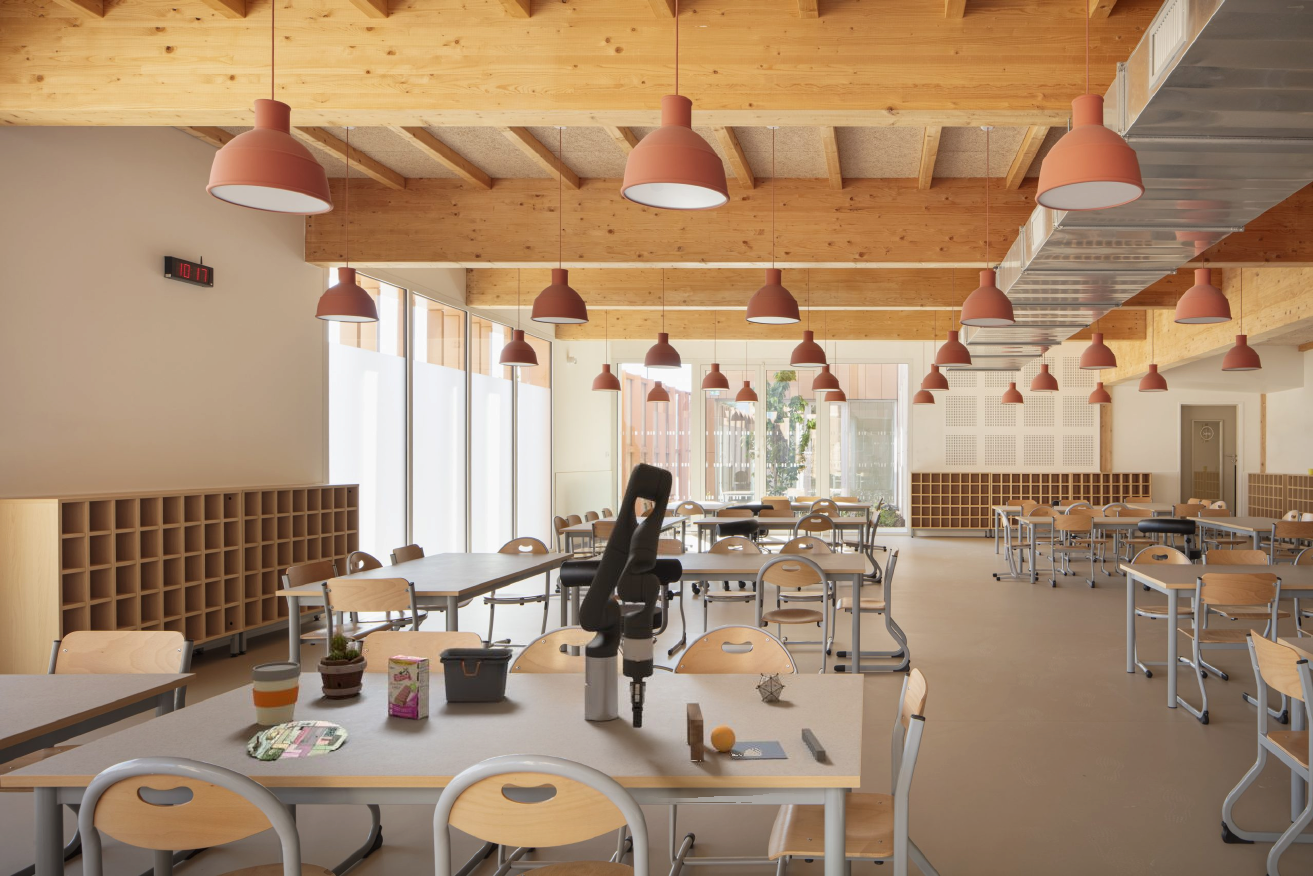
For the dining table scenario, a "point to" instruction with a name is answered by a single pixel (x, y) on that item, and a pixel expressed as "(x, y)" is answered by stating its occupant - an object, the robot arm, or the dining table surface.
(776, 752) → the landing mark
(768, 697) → the game die
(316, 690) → the dining table surface
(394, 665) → the candy bar box
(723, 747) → the ball
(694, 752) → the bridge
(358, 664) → the flowerpot
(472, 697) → the storage bin
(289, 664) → the reusable coffee cup
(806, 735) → the stopper
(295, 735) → the city model
